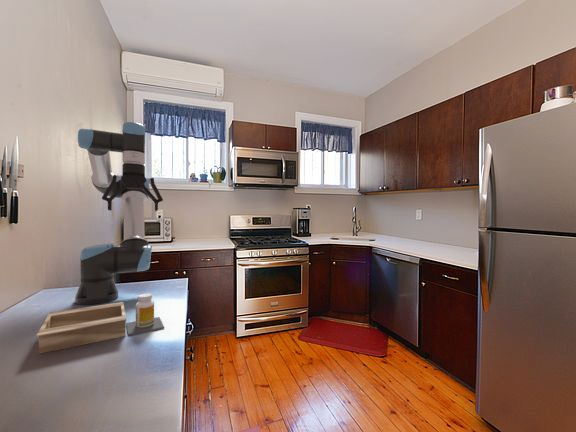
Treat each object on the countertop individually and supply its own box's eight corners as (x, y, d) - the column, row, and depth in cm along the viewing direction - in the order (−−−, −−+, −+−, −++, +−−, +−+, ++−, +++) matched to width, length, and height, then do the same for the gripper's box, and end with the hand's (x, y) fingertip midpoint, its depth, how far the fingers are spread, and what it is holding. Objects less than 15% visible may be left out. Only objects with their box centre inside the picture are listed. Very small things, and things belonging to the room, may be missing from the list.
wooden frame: (49, 331, 85) (49, 312, 84) (123, 318, 95) (123, 301, 95) (36, 358, 69) (36, 335, 69) (125, 339, 80) (126, 319, 80)
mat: (126, 324, 90) (126, 322, 90) (159, 318, 96) (159, 316, 96) (128, 336, 82) (128, 334, 82) (164, 328, 88) (164, 326, 88)
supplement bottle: (157, 322, 91) (157, 293, 91) (144, 329, 86) (144, 298, 86) (145, 320, 93) (145, 292, 93) (131, 326, 88) (131, 296, 87)
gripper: (93, 158, 94) (93, 219, 94) (170, 166, 108) (170, 219, 108) (94, 162, 100) (94, 219, 101) (167, 168, 114) (167, 219, 114)
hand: (133, 219), depth 104 cm, fingers open, 13 cm apart
